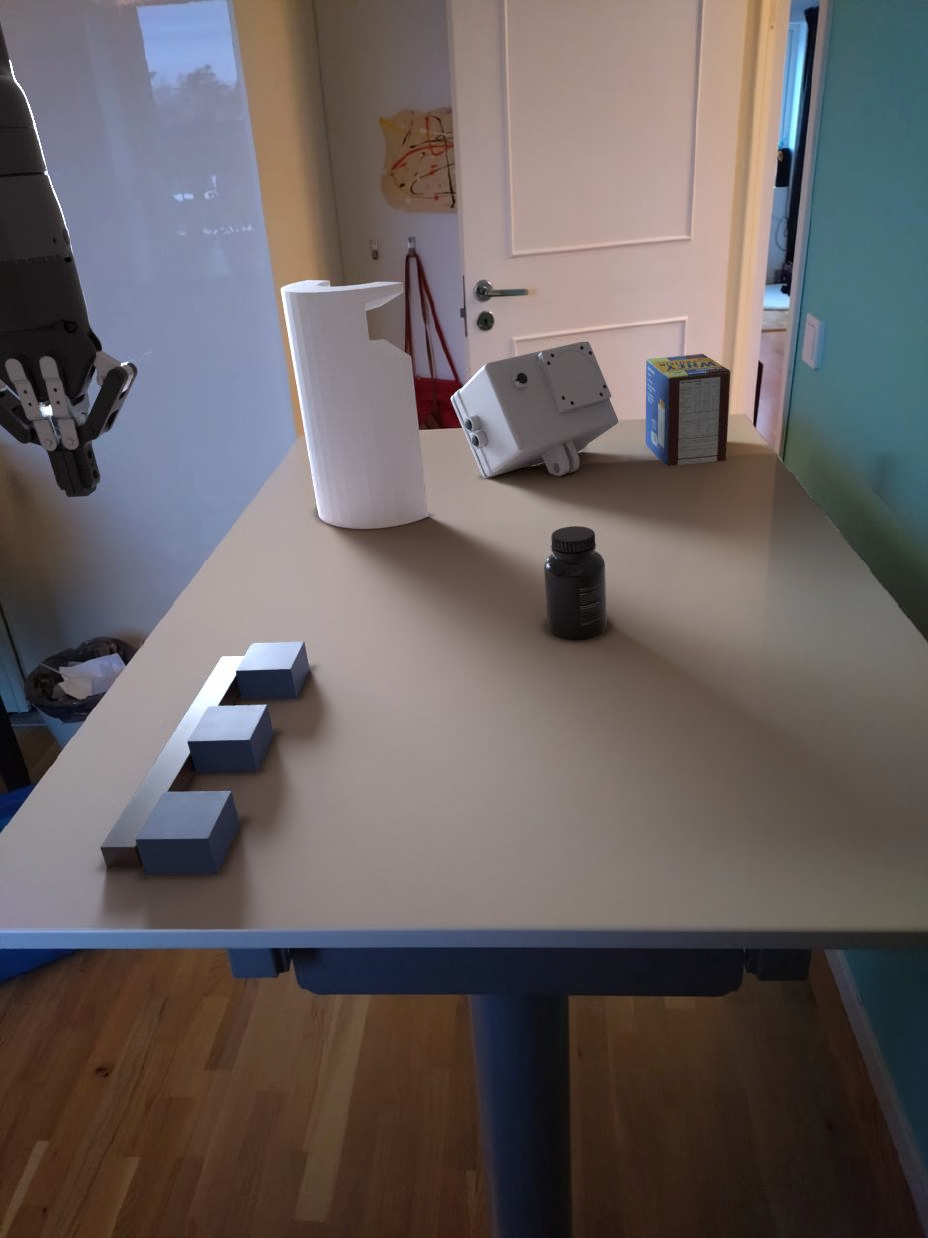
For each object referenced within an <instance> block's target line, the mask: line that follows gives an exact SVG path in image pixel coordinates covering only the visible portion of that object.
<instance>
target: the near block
mask: <svg viewBox="0 0 928 1238" xmlns="http://www.w3.org/2000/svg"><path fill="white" fill-rule="evenodd" d="M240 824H241V823H240V818H239V815H238V811H237V807H236V803H235V800H234V795H233V791H232V790H212V791H211V790H209V791H208V790H207V791H206V790H205V791H203V790H201V791H184V792H163V794H162V796H161V797H160V799H159V801H158V802H157V804H156V806H155V807H154V809H153V811H152V812H151V814H150V816H149V818H148V819H147V821H146V823H145V824H144V826H143V828H142V829H141V831H140V833H139V834H138V836H137V838H136V839H135V840H136V844H137V847H138V850H139V853H140V856H141V859H142V862H143V865H142V866H143V868H144V872H145V874H146V875H172V874H173V875H174V874H175V875H176V874H177V875H179V874H180V875H181V874H182V875H183V874H191V875H193V874H194V875H195V874H197V875H199V874H218V873H219V871H220V869H221V867H222V864H223V863H224V860H225V858H226V856H227V854H228V851H229V849H230V848H231V846H232V845H231V844H232V842H233V840H234V839H235V836H236V833H237V831H238V829H239V827H240Z"/></svg>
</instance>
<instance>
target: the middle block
mask: <svg viewBox="0 0 928 1238" xmlns="http://www.w3.org/2000/svg"><path fill="white" fill-rule="evenodd" d="M274 736H275V733H274V728H273V723H272V718H271V714H270V710H269V706H268V704H250V705H248V704H242V705H241V704H240V705H239V704H238V705H232V706H209V707H208V708H207V710H206V711H205V713H204V715H203V716H202V718H201V720H200V721H199V723H198V725H197V726H196V728H195V730H194V731H193V733H192V735H191V736H190V738H189V740H188V741H187V743H188V746H189V750H190V754H191V757H192V761H193V765H194V769H195V772H194V773H196V774H198V773H199V774H201V773H203V774H204V773H205V774H206V773H248V772H249V773H250V772H258V771H259V769H260V766H261V764H262V762H263V760H264V758H265V755H266V754H267V751H268V749H269V747H270V745H271V742H272V740H273V738H274Z"/></svg>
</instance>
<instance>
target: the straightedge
mask: <svg viewBox="0 0 928 1238" xmlns="http://www.w3.org/2000/svg"><path fill="white" fill-rule="evenodd" d="M244 656H245V655H241V656H221V658H220V659H219V661H218V662H217V663H216V665H215V667H214V669H212V672H210V675H209V676H208V677H207V679H206V680H205V682H204V684H203V685H202V687H201V688H200V690H199V692H198V694H197V695H196V696H195V698H194V700H193V701H192V703H191V705H190V706H189V708H188V709H187V711H186V713H184V715H183V717H182V718H181V720H180V722H179V723H178V725H177V727H176V728H175V730H174V731H173V733H172V734H171V736H170V738H169V739H168V740H167V742H166V744H165V745H164V746H163V748H162V750H161V751H160V753H159V755H158V756H157V758H156V759H155V761H154V762H153V764H152V766H151V767H150V769H149V770H148V772H147V773H146V775H145V776H144V778H143V780H142V781H141V783H140V785H139V786H138V787H137V789H136V791H135V792H134V794H133V795H132V797H131V799H130V800H129V802H128V803H127V804H126V806H125V808H124V809H123V811H122V812H121V814H120V816H119V818H118V819H117V821H116V822H115V824H114V825H113V827H112V828H111V830H110V832H109V833H108V834H107V836H106V838H105V839H104V841H103V842H102V844H101V846H100V848H99V849H100V852H101V855H102V857H103V860H104V863H105V866H106V868H129V867H130V868H141V867H142V866H143V862H142V859H141V856H140V853H139V850H138V847H137V844H136V840H135V839H136V838H137V836H138V834H139V833H140V831H141V829H142V828H143V826H144V824H145V823H146V821H147V819H148V818H149V816H150V814H151V812H152V811H153V809H154V807H155V806H156V804H157V802H158V801H159V799H160V797H161V796H162V794H163V792H185V790H186V788H187V786H188V785H189V783H190V781H191V779H192V777H193V776H194V774H195V773H196V772H195V769H194V765H193V761H192V757H191V754H190V750H189V746H188V743H187V741H188V740H189V738H190V736H191V735H192V733H193V731H194V730H195V728H196V726H197V725H198V723H199V721H200V720H201V718H202V716H203V715H204V713H205V711H206V710H207V708H208V707H209V706H234V703H235V701H236V700H237V698H238V696H239V694H240V689H239V684H238V680H237V676H236V669H237V667H238V666H239V664H240V662H241V661H242V659H243V657H244Z"/></svg>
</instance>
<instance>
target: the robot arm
mask: <svg viewBox="0 0 928 1238" xmlns="http://www.w3.org/2000/svg"><path fill="white" fill-rule="evenodd" d="M36 126H37V125H36V123H35V120H34V116H33V113H32V110H31V107H30V104H29V102H28V99H27V96H26V94H25V92H24V90H23V89H22V87H21V86H20V84H19V83H18V82H17V80H16V78H15V75H14V71H13V66H12V62H11V59H10V55H9V51H8V46H7V43H6V39H5V35H4V31H3V28H2V23H1V22H0V427H2V428H3V429H4V430H5V431H6V432H8V433H9V434H10V435H11V436H12V437H13V438H14V439H15V440H16V441H17V442H19V443H21V444H23V445H26V444H34V445H37V446H39V447H42V448H43V449H44V450H45V451H46V453H47V455H48V459H49V462H50V465H51V468H52V469H51V470H52V471H53V476H54V479H55V482H56V485H57V486H58V487H59V489H60V490H61V491H64V492H65V495H66V496H67V498H80V497H88V496H90V495H91V494H93V493H94V492H95V491H96V490H97V485H99V484H100V483H101V472H100V470H99V467H98V463H97V459H96V455H95V452H94V447H93V441H95V440H97V439H99V438H100V437H101V436H102V435H104V434H106V433H108V432H109V431H111V430H112V429H113V427H114V425H115V423H116V420H117V418H118V416H119V414H120V412H121V410H122V407H123V405H124V404H125V401H126V400H127V397H128V395H129V393H130V391H131V388H132V386H133V385H134V382H135V380H136V378H137V376H138V368H137V366H136V365H135V364H134V363H133V362H130V361H126V362H121V361H119V360H118V359H116V358H115V357H113V356H111V355H109V354H108V353H106V351H103V345H102V341H101V340H100V338H99V337H98V336H97V334H96V333H95V332H94V330H93V328H92V326H91V324H90V318H89V309H88V305H87V302H86V297H85V294H84V289H83V286H82V282H81V279H80V274H79V271H78V267H77V263H76V259H75V256H74V252H73V248H72V245H71V244H72V238H71V235H70V232H69V229H68V228H67V226H66V221H65V217H64V214H63V211H62V208H61V204H60V203H59V200H58V197H57V194H56V192H55V190H54V188H53V187H54V186H53V185H52V182H51V179H50V175H49V174H48V169H47V165H46V161H45V157H44V154H43V150H42V146H41V142H40V138H39V135H38V130H37V127H36ZM95 373H96V383H97V385H98V386H100V389H99V391H98V394H97V395H96V397H95V400H94V402H93V404H92V406H91V402H90V396H89V392H88V390H89V388H90V386H91V383H92V380H93V378H94V375H95ZM8 388H9V389H10V390H11V391H10V390H9V389H8ZM89 410H90V411H89Z"/></svg>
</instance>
